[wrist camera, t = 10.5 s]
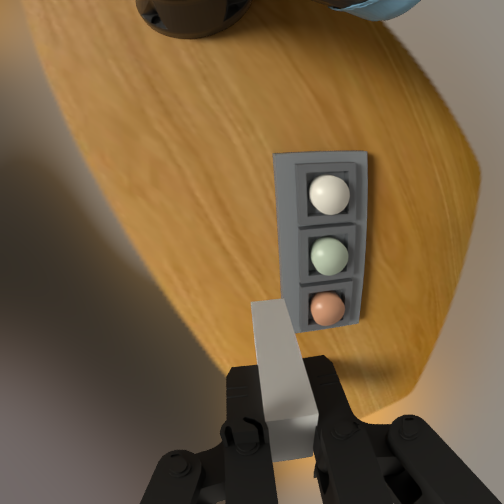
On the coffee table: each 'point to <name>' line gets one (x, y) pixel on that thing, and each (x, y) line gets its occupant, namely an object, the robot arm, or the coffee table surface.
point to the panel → (319, 232)
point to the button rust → (326, 308)
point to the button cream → (328, 194)
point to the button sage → (328, 255)
